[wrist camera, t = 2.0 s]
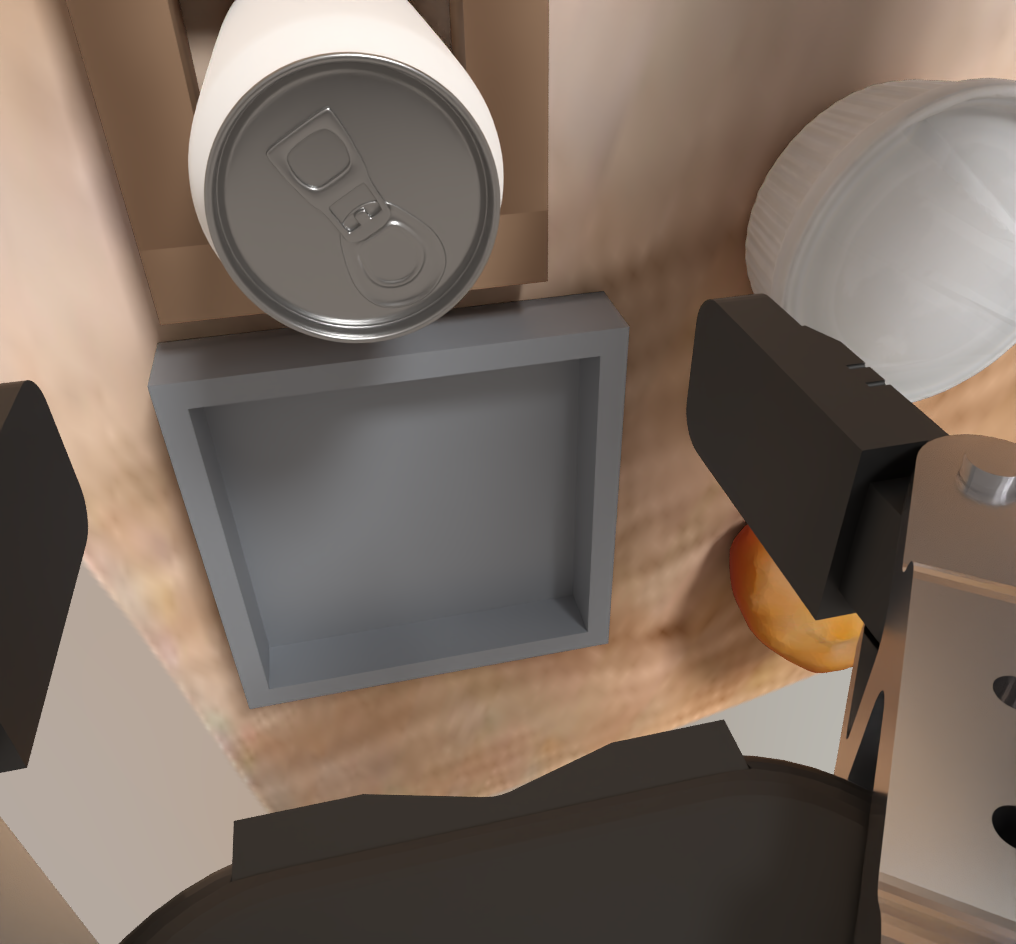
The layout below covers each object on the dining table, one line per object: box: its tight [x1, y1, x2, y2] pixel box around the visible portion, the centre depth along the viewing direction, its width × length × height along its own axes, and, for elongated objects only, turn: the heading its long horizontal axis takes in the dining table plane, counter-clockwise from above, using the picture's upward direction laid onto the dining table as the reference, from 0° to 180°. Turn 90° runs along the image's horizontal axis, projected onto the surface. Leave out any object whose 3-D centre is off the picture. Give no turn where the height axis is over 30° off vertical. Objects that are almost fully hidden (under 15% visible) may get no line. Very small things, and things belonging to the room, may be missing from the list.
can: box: [188, 0, 504, 343], centre depth 21 cm, size 6×6×12 cm
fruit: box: [729, 524, 864, 673], centre depth 40 cm, size 8×8×8 cm
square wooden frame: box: [66, 0, 549, 325], centre depth 25 cm, size 12×12×2 cm
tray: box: [147, 291, 629, 709], centre depth 34 cm, size 16×16×3 cm
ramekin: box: [745, 78, 1016, 403], centre depth 30 cm, size 11×11×5 cm
